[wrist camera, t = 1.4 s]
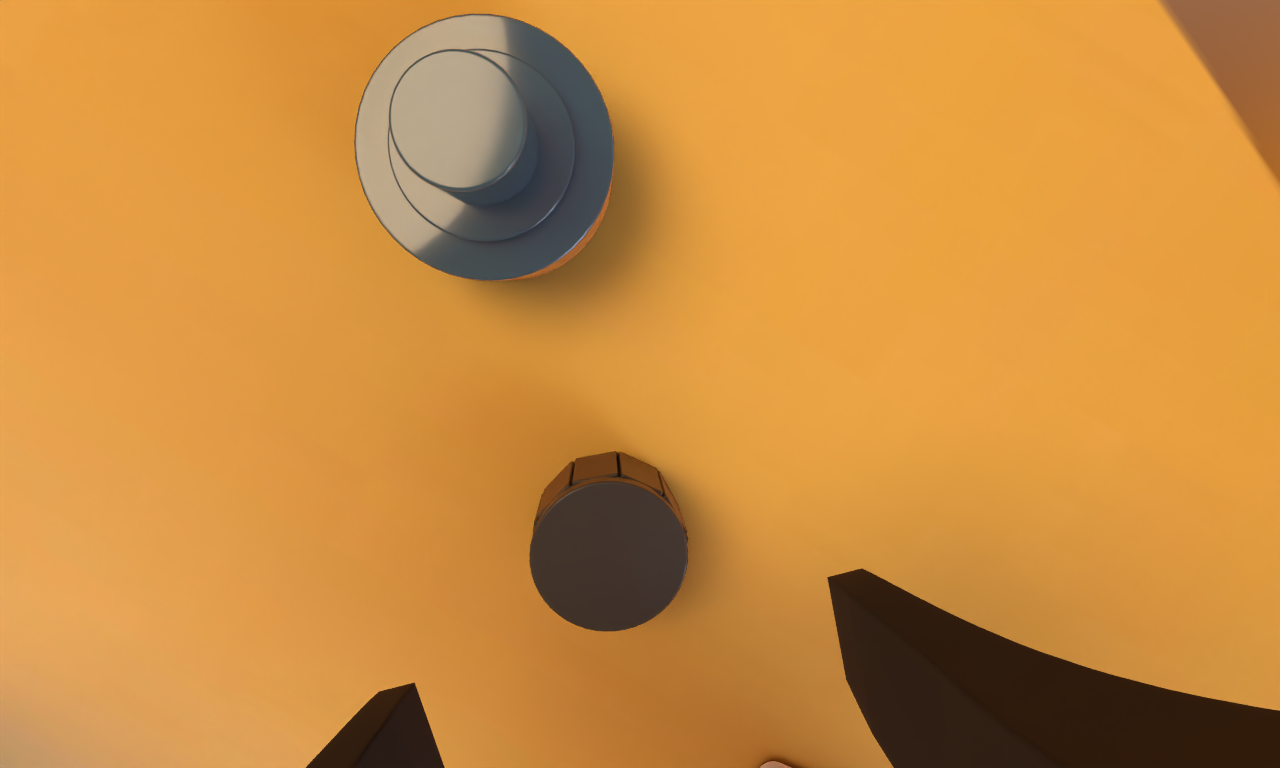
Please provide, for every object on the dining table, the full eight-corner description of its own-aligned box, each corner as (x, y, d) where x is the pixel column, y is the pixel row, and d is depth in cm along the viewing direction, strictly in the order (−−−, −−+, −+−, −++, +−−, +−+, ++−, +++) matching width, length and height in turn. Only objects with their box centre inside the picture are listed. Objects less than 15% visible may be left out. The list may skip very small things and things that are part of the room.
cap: (642, 606, 22) (648, 656, 19) (514, 551, 21) (500, 594, 18) (702, 489, 21) (717, 521, 18) (573, 429, 21) (568, 454, 18)
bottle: (558, 315, 20) (536, 332, 14) (363, 222, 19) (245, 195, 13) (648, 122, 19) (670, 45, 13) (449, 18, 19) (369, -116, 12)
